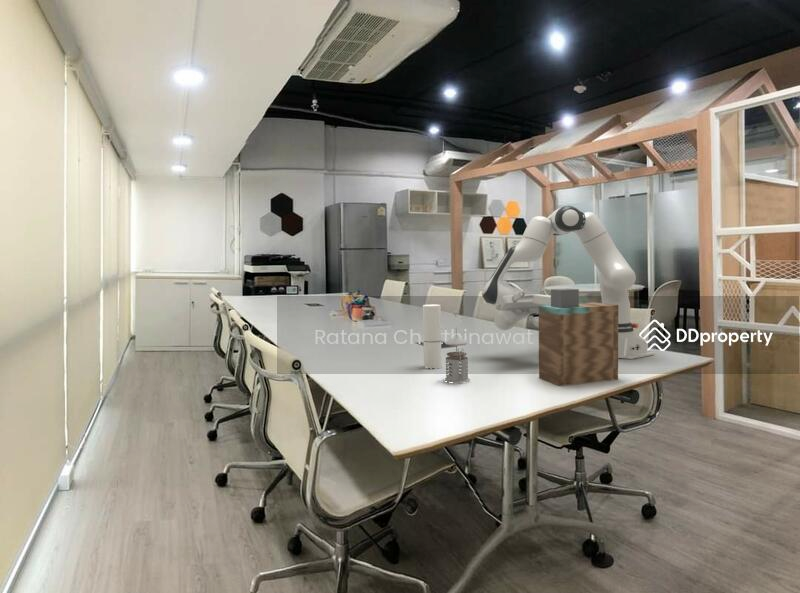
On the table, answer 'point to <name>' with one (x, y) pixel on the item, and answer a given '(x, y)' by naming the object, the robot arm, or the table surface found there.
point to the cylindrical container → (432, 336)
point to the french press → (456, 361)
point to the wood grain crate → (578, 343)
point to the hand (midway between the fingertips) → (533, 292)
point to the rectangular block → (559, 298)
